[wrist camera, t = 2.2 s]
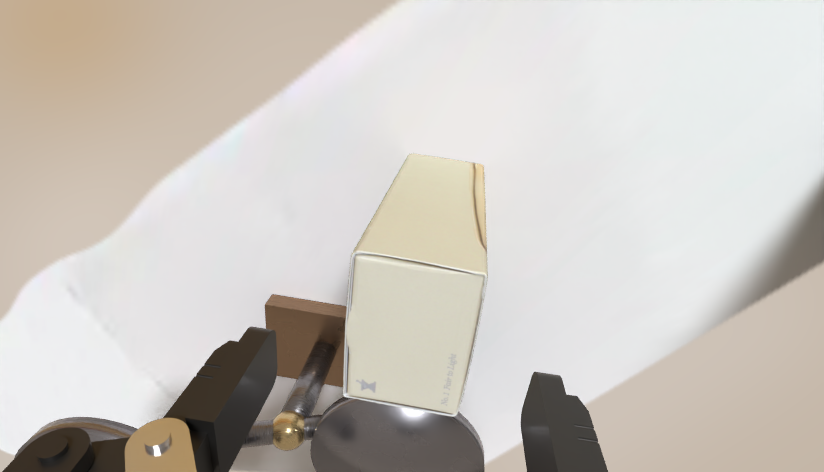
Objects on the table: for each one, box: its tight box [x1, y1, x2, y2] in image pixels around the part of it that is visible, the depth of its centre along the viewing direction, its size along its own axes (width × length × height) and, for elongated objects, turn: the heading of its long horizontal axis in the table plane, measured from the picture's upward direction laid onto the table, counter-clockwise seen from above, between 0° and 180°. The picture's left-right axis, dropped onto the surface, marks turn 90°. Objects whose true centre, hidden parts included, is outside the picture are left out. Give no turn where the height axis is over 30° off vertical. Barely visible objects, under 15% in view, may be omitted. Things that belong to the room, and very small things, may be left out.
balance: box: [14, 294, 484, 472], centre depth 25 cm, size 21×9×13 cm, turn 84°
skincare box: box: [343, 154, 488, 417], centre depth 20 cm, size 6×4×12 cm
